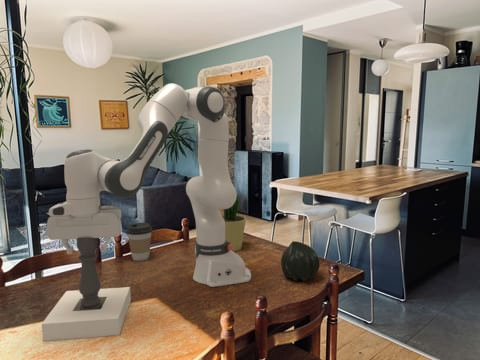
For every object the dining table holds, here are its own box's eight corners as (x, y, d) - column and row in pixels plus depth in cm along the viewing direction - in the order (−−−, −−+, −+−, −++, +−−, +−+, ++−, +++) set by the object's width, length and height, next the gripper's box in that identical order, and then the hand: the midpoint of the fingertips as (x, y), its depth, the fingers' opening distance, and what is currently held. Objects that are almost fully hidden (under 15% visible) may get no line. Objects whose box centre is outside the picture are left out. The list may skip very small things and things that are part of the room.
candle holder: (94, 322, 105) (90, 239, 101) (75, 320, 106) (70, 238, 103) (106, 312, 111) (102, 233, 107) (88, 310, 112) (83, 232, 109)
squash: (333, 265, 137) (311, 231, 142) (310, 278, 126) (287, 241, 131) (309, 280, 146) (289, 248, 151) (286, 293, 135) (266, 258, 140)
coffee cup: (130, 254, 165) (129, 222, 163) (155, 253, 166) (154, 221, 164) (124, 263, 154) (123, 229, 151) (151, 262, 155) (150, 228, 152)
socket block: (130, 301, 120) (130, 287, 119) (119, 335, 100) (118, 318, 99) (67, 305, 117) (66, 290, 116) (43, 341, 97) (41, 323, 97)
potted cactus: (250, 244, 178) (250, 185, 173) (239, 254, 163) (239, 190, 159) (221, 241, 183) (221, 183, 179) (208, 250, 169) (207, 188, 164)
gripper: (123, 202, 108) (125, 246, 110) (51, 205, 105) (55, 250, 107) (118, 207, 102) (121, 253, 104) (42, 210, 99) (46, 257, 101)
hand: (87, 252), depth 106 cm, fingers open, 8 cm apart
